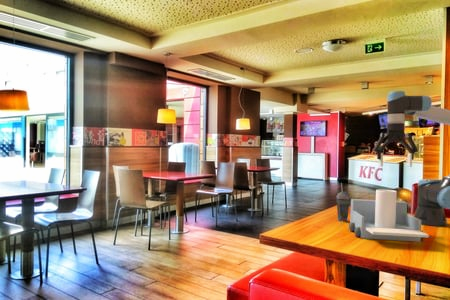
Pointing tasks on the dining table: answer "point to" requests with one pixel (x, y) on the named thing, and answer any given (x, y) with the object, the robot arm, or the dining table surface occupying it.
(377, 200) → the cup
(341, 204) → the beverage cup
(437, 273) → the dining table surface
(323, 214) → the dining table surface
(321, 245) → the dining table surface
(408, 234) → the tailgate
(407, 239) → the truck bed
